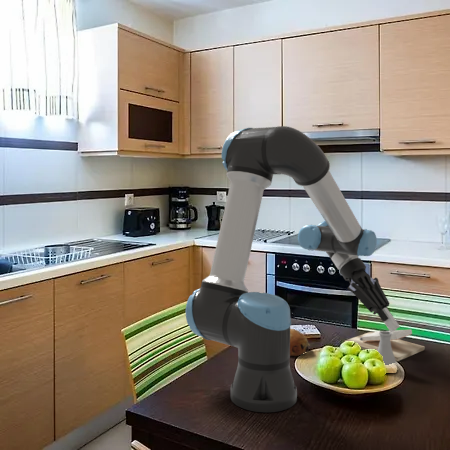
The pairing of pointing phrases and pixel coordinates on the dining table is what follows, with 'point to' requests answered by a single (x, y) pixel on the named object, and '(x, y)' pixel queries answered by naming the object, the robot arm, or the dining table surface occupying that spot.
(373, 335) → the tile
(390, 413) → the dining table surface
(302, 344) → the brown rounded lump
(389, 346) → the flask
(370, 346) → the board
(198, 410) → the dining table surface
